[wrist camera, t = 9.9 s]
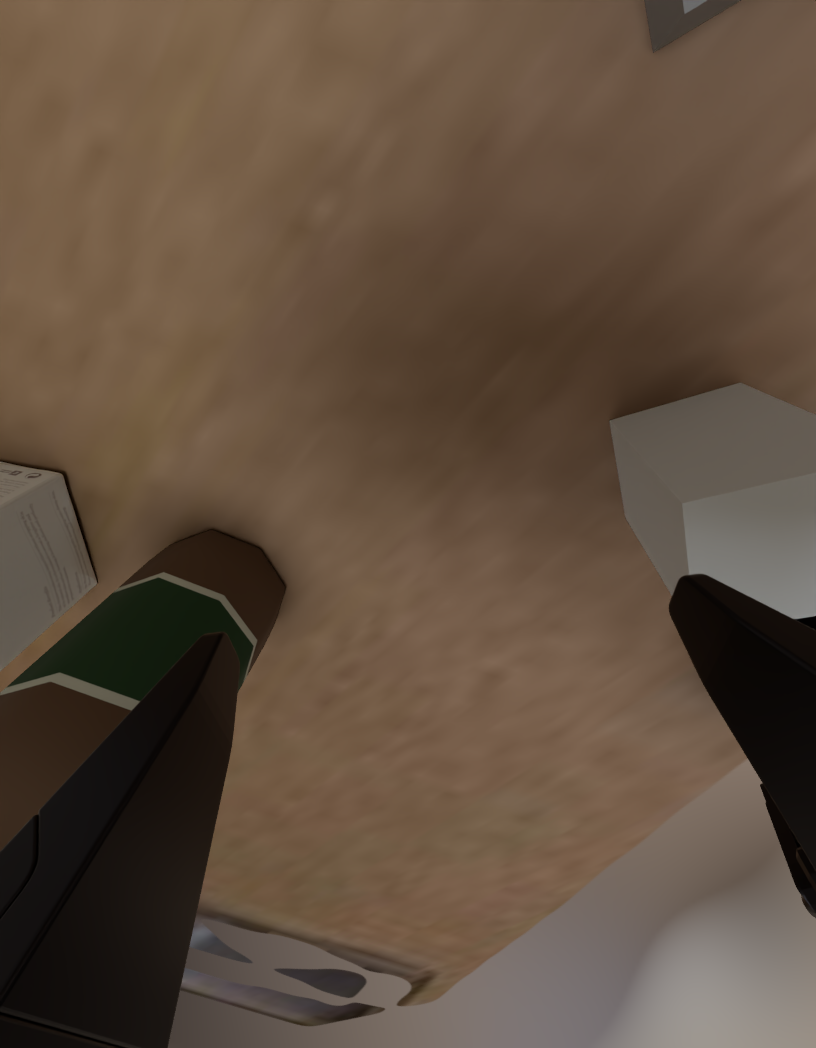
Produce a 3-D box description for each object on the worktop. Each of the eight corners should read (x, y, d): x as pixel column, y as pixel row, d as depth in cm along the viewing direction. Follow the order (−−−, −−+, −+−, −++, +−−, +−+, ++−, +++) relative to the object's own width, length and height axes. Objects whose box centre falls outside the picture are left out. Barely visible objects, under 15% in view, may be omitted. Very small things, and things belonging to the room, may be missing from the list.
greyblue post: (740, 382, 18) (904, 452, 11) (743, 490, 20) (882, 605, 13) (608, 420, 19) (682, 503, 13) (625, 517, 22) (695, 634, 15)
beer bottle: (298, 635, 28) (-187, 1631, 8) (184, 626, 29) (-522, 1485, 9) (278, 528, 24) (-802, 1943, 4) (148, 522, 25) (-1285, 1620, 5)
